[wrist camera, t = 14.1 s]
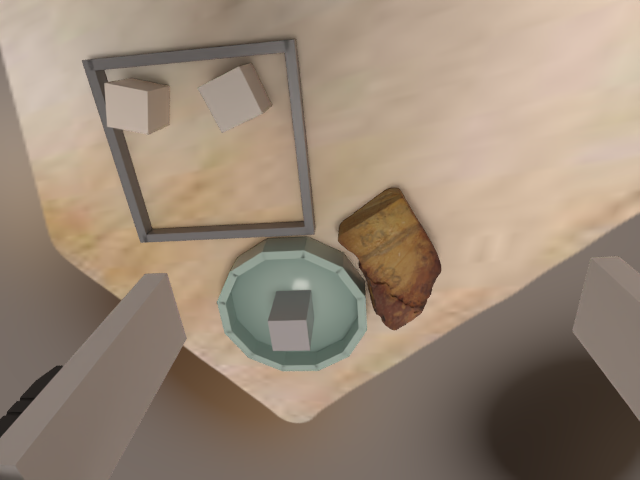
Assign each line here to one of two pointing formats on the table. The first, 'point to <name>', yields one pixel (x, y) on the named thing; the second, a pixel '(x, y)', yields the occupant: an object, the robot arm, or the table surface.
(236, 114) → the pale grey block
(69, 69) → the table surface
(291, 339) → the grey square pillar
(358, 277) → the bowl
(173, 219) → the table surface
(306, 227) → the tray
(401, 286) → the stone
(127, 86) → the light grey block
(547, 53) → the table surface
